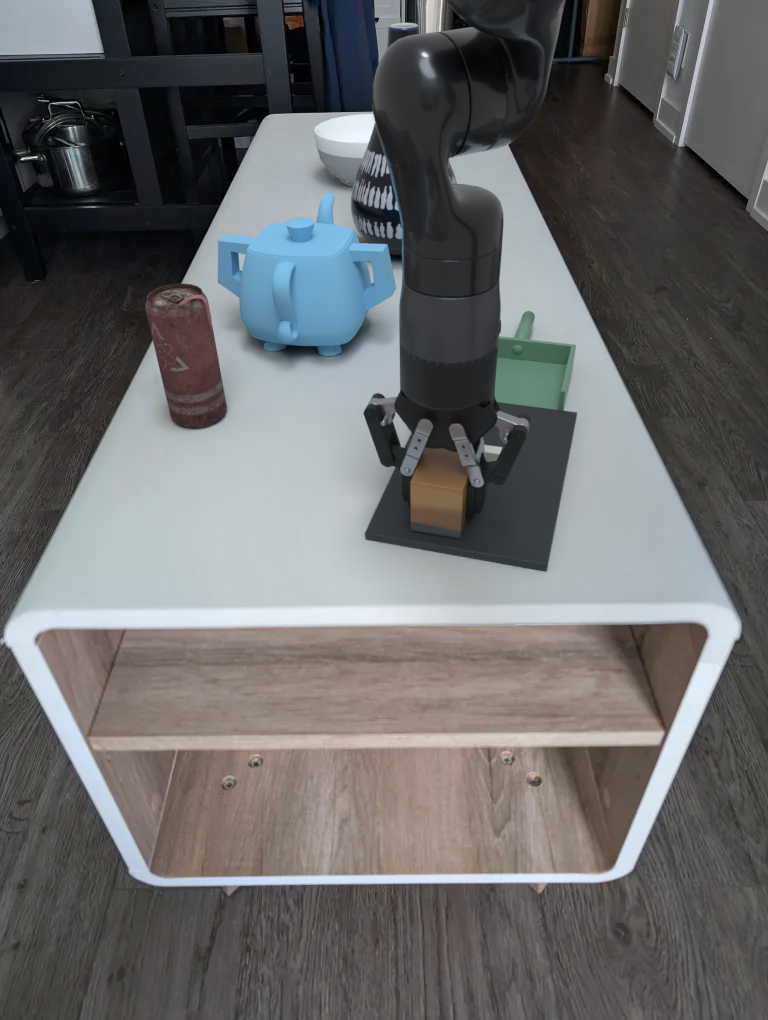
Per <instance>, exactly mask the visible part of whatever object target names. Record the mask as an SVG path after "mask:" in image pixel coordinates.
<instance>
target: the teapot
mask: <svg viewBox="0 0 768 1020" xmlns="http://www.w3.org/2000/svg"><path fill="white" fill-rule="evenodd" d="M335 197H336V196H335V194H334V193H333V192H328V193H326V194H324V195H323V197H322V198H321V200H320V202H319V205H318V211H317V216H316V221H315V220H313V219H312V218H309V217H302V216H300V217H294V218H291V219H288V220H287V221H286V222H276V223H272V224H269V225H267V226H266V227H264V228H263V229H262V230H261V231H260V232H259V233H258V234H257V235H256V236H247V235H238V234H232V233H231V234H229V233H225V234H224V235H222V237H220V238H219V239H218V241H217V283H218V284H219V285H220V286H222V287H223V288H225V289H226V290H228V291H229V292H231V293H232V294H233V295H235V296H236V297H238V298H239V303H238V304H239V315H240V320H241V322H242V324H243V326H244V328H245V329H246V330H247V332H248V333H249V334H250V335H251V336H252V337H253V338H255V339H257V340H262V341H264V342H265V343H264V344H263V348H264V350H266V351H267V352H268V351H269V352H279V351H282V350H284V349H285V348H287V347H288V346H298V347H300V346H301V347H317V353H318V354H319V355H321V356H324V357H333V356H337V355H339V354H340V353H341V352H342V350H343V349H342V347H341V345H344V344H347V343H349V342H350V341H352V340H353V338H355V336H356V334H357V333H358V331H360V329H361V328H362V325H363V323H364V322H365V318H366V317H367V314H368V313H369V310H371V309H372V308H374V307H376V306H378V305H379V304H381V303H382V302H384V301H386V300H388V299H390V298H391V297H393V295H394V293H395V291H396V290H397V284H396V279H395V275H394V269H393V265H392V261H391V256H390V254H389V249H388V244H369V243H367V242H365V243H363V242H360V241H359V239H358V236H357V234H356V232H355V230H354V229H353V228H351V227H349V226H345V225H339V224H335V222H334V203H335ZM239 254H241V255H245V256H244V260H243V265H242V270H241V268H240V256H239ZM367 261H368V262H369V261H370V263H371V272H372V277H373V278H372V279H373V282H372V279H371V274H370V273H371V272H370V268H369V265H368V262H367Z"/></svg>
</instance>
